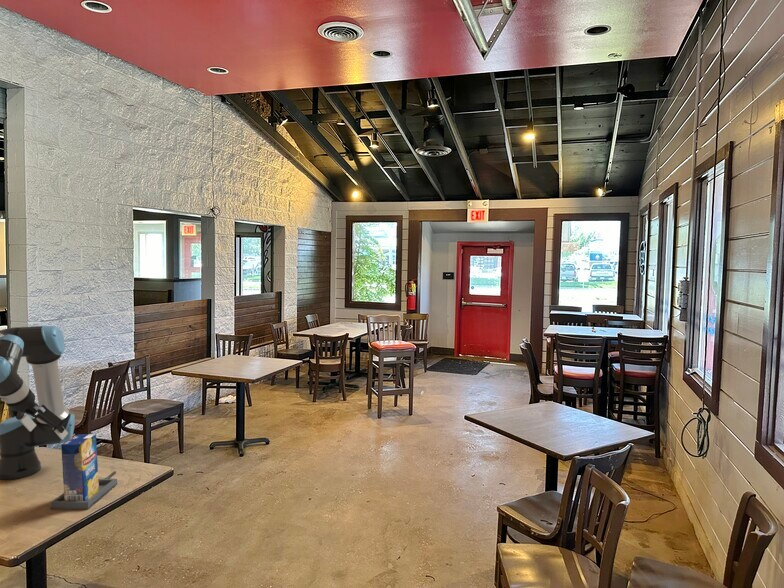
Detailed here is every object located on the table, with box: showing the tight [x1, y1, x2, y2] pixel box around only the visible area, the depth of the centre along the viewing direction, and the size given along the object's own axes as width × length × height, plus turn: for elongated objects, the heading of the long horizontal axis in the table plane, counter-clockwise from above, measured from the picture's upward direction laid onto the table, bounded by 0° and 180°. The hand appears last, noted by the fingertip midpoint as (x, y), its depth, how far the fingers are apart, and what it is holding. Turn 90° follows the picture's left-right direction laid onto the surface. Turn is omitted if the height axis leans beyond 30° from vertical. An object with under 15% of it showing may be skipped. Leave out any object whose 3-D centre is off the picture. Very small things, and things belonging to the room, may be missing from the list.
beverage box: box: [60, 433, 99, 501], centre depth 192 cm, size 7×11×22 cm, turn 4°
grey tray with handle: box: [50, 470, 118, 510], centre depth 201 cm, size 30×13×2 cm, turn 0°
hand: (48, 432), depth 183 cm, fingers open, 13 cm apart
